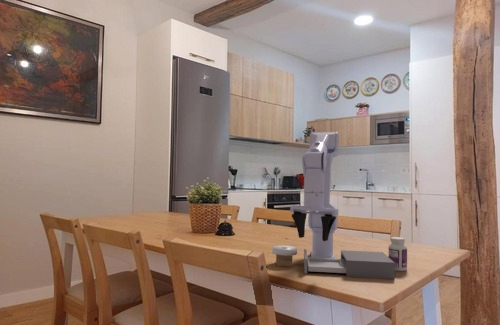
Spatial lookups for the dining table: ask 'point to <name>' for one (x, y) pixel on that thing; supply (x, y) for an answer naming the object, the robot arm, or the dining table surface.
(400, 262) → the pill bottle
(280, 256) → the pedestal
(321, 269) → the grey shallow open box
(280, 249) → the disc
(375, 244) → the dining table surface
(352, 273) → the block
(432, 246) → the dining table surface
